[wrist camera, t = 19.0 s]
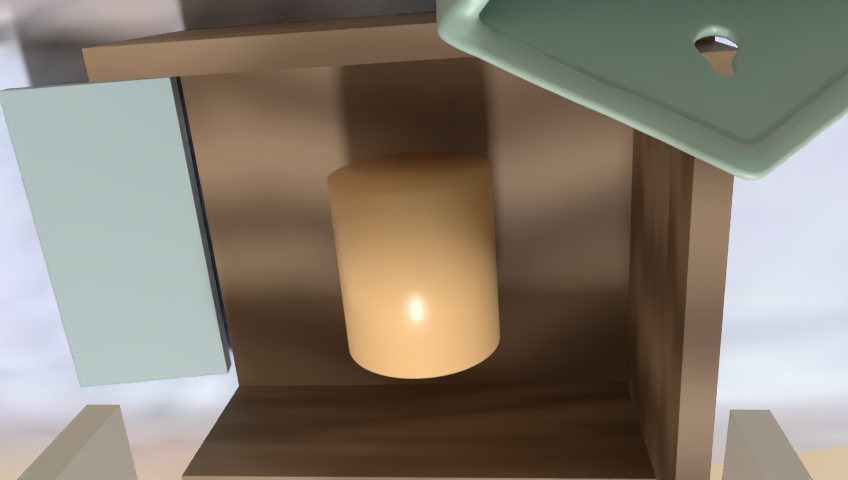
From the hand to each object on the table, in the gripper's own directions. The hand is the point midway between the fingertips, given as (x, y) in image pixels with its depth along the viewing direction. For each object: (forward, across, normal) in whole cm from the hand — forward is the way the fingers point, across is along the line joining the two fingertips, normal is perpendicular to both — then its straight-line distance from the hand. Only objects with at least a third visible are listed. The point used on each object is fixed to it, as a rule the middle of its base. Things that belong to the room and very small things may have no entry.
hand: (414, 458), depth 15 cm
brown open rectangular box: (+21, -2, -2) cm, 21 cm away
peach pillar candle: (+20, -2, -2) cm, 20 cm away
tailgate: (+20, -13, -2) cm, 24 cm away
